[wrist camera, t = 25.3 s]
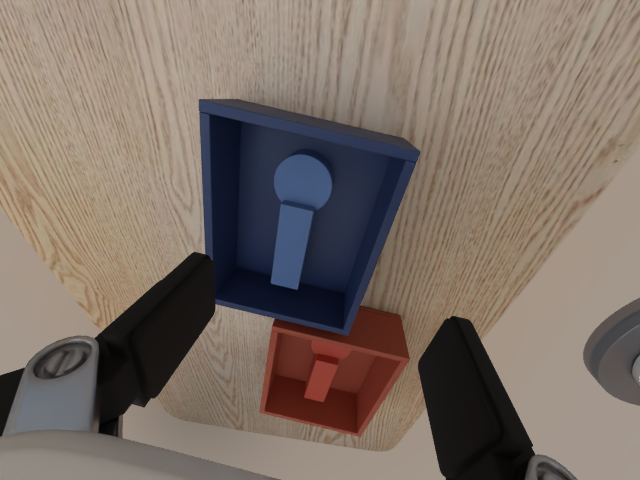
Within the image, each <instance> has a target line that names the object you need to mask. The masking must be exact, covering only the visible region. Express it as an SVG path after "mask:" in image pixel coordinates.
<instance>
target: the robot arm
mask: <svg viewBox="0 0 640 480" xmlns="http://www.w3.org/2000/svg"><path fill="white" fill-rule="evenodd" d="M214 312H215V277H214V261H213V260H211V258H210V256H209V255H205V254H201V253H197V252H193V253H192V254H191V255H190V256H188V257H187V258H186V259H185V260H184V261H183V262H182V263H181V264H179V265H178V266H177V267H176V268H175V269H174V270H173V271H172V272H171V273H169V274H168V275H167V276H166V277H165V278H164V279H163V280H160V281H159V282H158V283H156V284H155V285H154V286H153V287H152V288H151V289H150V290H148V291H147V292H146V293H145V294H144V295H143V296H142V297H141V298H139V299H138V300H137V301H136V302H135V303H134V304H133V305H131V306H130V307H129V308H128V309H127V310H126V311H125V312H124V313H122V314H121V315H120V316H119V317H118V318H117V319H116V320H115V321H113V322H112V323H111V324H110V325H109V326H108V327H107V328H106V329H104V330H103V331H102V332H101V333H100V334H99V335H98V336H97V337H95V338H92V337H89V336H73V337H68V338H65V339H62V340H58V341H56V342H54V343H52V344H50V345H48V346H46V347H45V348H43V349H42V350H41V351H39V352H38V353H36V354H35V356H33V357H32V359H31V360H30V361H29V362H28V364H27V365H26V367H25V368H22V369H19V370H16V371H13V372H10V373H6V374H3V375H1V376H0V480H279V479H276V478H272V477H268V476H264V475H260V474H257V473H254V472H250V471H246V470H243V469H239V468H235V467H231V466H227V465H224V464H220V463H216V462H213V461H209V460H205V459H201V458H198V457H194V456H190V455H186V454H183V453H179V452H175V451H171V450H168V449H164V448H160V447H155V446H151V445H147V444H143V443H139V442H135V441H131V440H127V439H123V438H122V426H123V414H124V413H125V412H126V411H127V409H128V408H129V406H130V405H131V404H134V405H138V406H142V407H145V406H146V404H147V403H148V401H149V400H150V399H151V398H155V397H157V396H158V394H159V393H160V392H161V390H162V389H163V387H164V386H165V385H166V383H167V382H168V380H169V379H170V377H171V376H172V374H173V373H174V372H175V370H176V369H177V367H178V366H179V364H180V363H181V361H182V360H183V359H184V357H185V356H186V354H187V353H188V351H189V350H190V348H191V347H192V345H193V344H194V343H195V341H196V340H197V338H198V337H199V335H200V334H201V332H202V331H203V330H204V328H205V327H206V325H207V324H208V322H209V321H210V319H211V318H212V316H213V315H214ZM418 370H419V375H420V379H421V384H422V389H423V393H424V398H425V403H426V407H427V412H428V417H429V421H430V425H431V430H432V435H433V440H434V445H435V449H436V454H437V459H438V463H439V468H440V471H441V473H442V474H443V476H445V477H446V480H577V479H576V477H575V476H574V475H573V474H572V473H571V472H570V471H568V470H567V469H566V468H565V467H564V466H562V465H561V464H560V463H558V462H557V461H556V460H554V459H552V458H550V457H547V456H545V455H535V453H534V451H533V450H532V446H533V444H532V442H531V440H530V438H529V436H528V434H527V432H526V430H525V428H524V427H523V424H522V422H521V420H520V418H519V416H518V414H517V412H516V411H515V408H514V407H513V404H512V402H511V400H510V398H509V396H508V394H507V392H506V390H505V388H504V387H503V385H502V383H501V380H500V378H499V376H498V374H497V372H496V370H495V368H494V366H493V365H492V362H491V360H490V358H489V356H488V354H487V352H486V350H485V348H484V347H483V344H482V342H481V340H480V338H479V336H478V334H477V332H476V330H475V328H474V326H473V324H472V323H471V321H470V320H468V319H464V318H460V317H456V316H452V317H450V319H446V320H445V321H444V322H443V324H442V325H441V327H440V329H439V330H438V332H437V333H436V335H435V336H434V338H433V339H432V341H431V342H430V344H429V346H428V347H427V349H426V350H425V352H424V353H423V355H422V356H421V358H420V360H419V363H418ZM632 375H633V377H634V380H635V381H636V382H637V383H638V384H639V385H640V355H639V356H638V357H637V358H636V360H635V362H634V365H633V368H632Z"/></svg>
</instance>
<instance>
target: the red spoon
mask: <svg viewBox="0 0 640 480" xmlns="http://www.w3.org/2000/svg"><path fill="white" fill-rule="evenodd" d="M311 349H312V351H313V352H314V353H315V354H314V357H313V360H312V363H311V367H310V370H309V373H308V377H307V383H306V389H305V395H304V398H308V399H312V400H316V401H320V402H324V400H325V397H326V395H327V392H328V390H329V387H330V385H331V382H332V380H333V378H334V375H335V373H336V370H337V368H338V363H339V360H341V359H344V358H346V357H347V356H348V355H349V354H350V352H351V349H347V348H343V347H338V346H334V345H330V344H326V343H322V342H318V341H313V340H312V341H311Z"/></svg>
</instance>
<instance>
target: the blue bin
mask: <svg viewBox="0 0 640 480" xmlns="http://www.w3.org/2000/svg"><path fill="white" fill-rule="evenodd" d="M199 111H200V136H201V159H202V183H203V206H204V229H205V253H206V255H209V256H210V258H211V260H213V261H214V277H215V304H217V305H222V306H226V307H230V308H234V309H238V310H242V311H247V312H251V313H255V314H259V315H263V316H267V317H272V318H276V319H280V320H284V321H288V322H293V323H297V324H301V325H305V326H309V327H313V328H318V329H322V330H326V331H330V332H334V333H339V334H343V335H347V336H348V335H349V332H350V330H351V327H352V325H353V322H354V320H355V317H356V315H357V312H358V310H359V307H360V304H361V302H362V299H363V297H364V294H365V292H366V289H367V287H368V284H369V282H370V279H371V277H372V274H373V272H374V269H375V266H376V264H377V261H378V259H379V256H380V254H381V251H382V249H383V246H384V244H385V241H386V239H387V236H388V233H389V231H390V228H391V226H392V223H393V221H394V218H395V216H396V213H397V211H398V208H399V206H400V203H401V200H402V198H403V195H404V193H405V190H406V188H407V185H408V183H409V180H410V178H411V175H412V173H413V170H414V167H415V165H416V162H417V160H418V157H419V155H420V151H419V150H418V149H416V148H415V147H414V146H413V145H412V144H410V143H409V142H408V141H407V140H405V139H404V138H400V137H395V136H391V135H387V134H383V133H378V132H374V131H370V130H366V129H361V128H357V127H353V126H349V125H344V124H340V123H336V122H332V121H327V120H323V119H319V118H315V117H311V116H306V115H302V114H298V113H294V112H289V111H285V110H281V109H277V108H272V107H268V106H264V105H260V104H255V103H251V102H247V101H243V100H238V99H199ZM302 149H310V150H314V151H317V152H319V153H321V154H322V155H323V156H325V157H326V158H327V160H328V161H329V162H330V164H331V166H332V168H333V171H334V185H333V189H332V193H331V196H330V198H329V200H328V201H327V203H326V204H325V205H324V206H323V207H321V208H320V209H318V210H316V213H315V218H314V223H313V228H312V232H311V237H310V242H309V246H308V251H307V256H306V261H305V265H304V270H303V274H302V277H301V280H300V284H299V287H298V290H296V289H292V288H288V287H284V286H279V285H275V284H271V276H272V268H273V261H274V253H275V245H276V238H277V230H278V222H279V215H280V207H281V203H282V202H281V200H280V199H279V198H278V196H277V194H276V191H275V188H274V175H275V171H276V169H277V167H278V166H279V164H280V163H281V162H282V161H283V160H284V159H286V158H287V157H288V156H289V155H290V154H292V153H293V152H295V151H298V150H302Z"/></svg>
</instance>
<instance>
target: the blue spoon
mask: <svg viewBox="0 0 640 480" xmlns="http://www.w3.org/2000/svg"><path fill="white" fill-rule="evenodd" d="M333 185H334V171H333V168H332V166H331V164H330V162H329V161H328V160H327V158H326V157H325V156H323V155H322V154H321V153H319V152H317V151H314V150H310V149H302V150H298V151H295V152H293V153H292V154H290V155H289V156H288V157H287V158H286V159H284V160H283V161H282V162H281V163H280V164H279V166H278V167H277V169H276V171H275V175H274V188H275V191H276V194H277V196H278V198H279V199H280V200H281V202H282V203H281V207H280V215H279V222H278V230H277V238H276V245H275V253H274V261H273V268H272V276H271V284H275V285H279V286H284V287H288V288H292V289H296V290H298V287H299V284H300V280H301V277H302V274H303V270H304V265H305V261H306V256H307V251H308V246H309V242H310V237H311V232H312V228H313V223H314V218H315V213H316V210H318V209H320V208H321V207H323V206H324V205H325V204H326V203H327V201H328V200H329V198H330V196H331V193H332V189H333Z"/></svg>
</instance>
